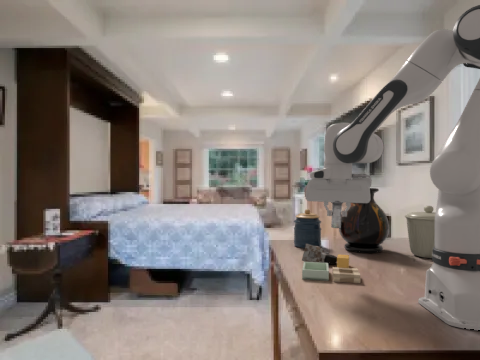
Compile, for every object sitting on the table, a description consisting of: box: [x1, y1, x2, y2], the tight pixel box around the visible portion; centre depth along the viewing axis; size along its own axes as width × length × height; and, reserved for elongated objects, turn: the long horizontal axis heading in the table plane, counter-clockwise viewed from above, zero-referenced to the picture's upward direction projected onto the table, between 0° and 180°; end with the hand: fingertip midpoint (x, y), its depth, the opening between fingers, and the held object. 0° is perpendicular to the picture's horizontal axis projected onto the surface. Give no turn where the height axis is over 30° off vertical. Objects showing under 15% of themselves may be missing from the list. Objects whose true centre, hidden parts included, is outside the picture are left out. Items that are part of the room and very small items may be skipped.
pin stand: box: [332, 266, 361, 284], centre depth 112 cm, size 8×8×2 cm
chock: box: [336, 254, 350, 268], centre depth 127 cm, size 6×4×4 cm, turn 161°
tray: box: [301, 261, 330, 282], centre depth 116 cm, size 11×8×3 cm
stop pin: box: [330, 201, 344, 229], centre depth 114 cm, size 4×4×9 cm
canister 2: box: [404, 205, 436, 259], centre depth 146 cm, size 18×18×21 cm
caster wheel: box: [301, 244, 337, 265], centre depth 133 cm, size 7×11×10 cm
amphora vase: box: [338, 187, 390, 254], centre depth 158 cm, size 22×22×28 cm
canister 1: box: [293, 208, 322, 249], centre depth 168 cm, size 13×13×18 cm
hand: (336, 216), depth 114 cm, fingers closed on stop pin, 3 cm apart
